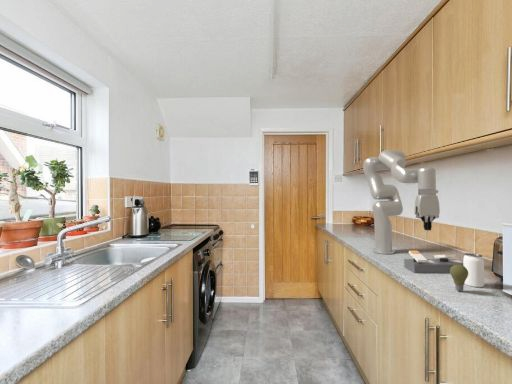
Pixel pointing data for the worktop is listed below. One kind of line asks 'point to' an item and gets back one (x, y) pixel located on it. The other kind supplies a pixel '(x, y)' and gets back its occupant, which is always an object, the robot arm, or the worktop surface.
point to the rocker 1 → (417, 256)
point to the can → (474, 269)
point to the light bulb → (459, 276)
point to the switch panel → (431, 265)
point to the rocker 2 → (443, 256)
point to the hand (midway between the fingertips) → (427, 230)
